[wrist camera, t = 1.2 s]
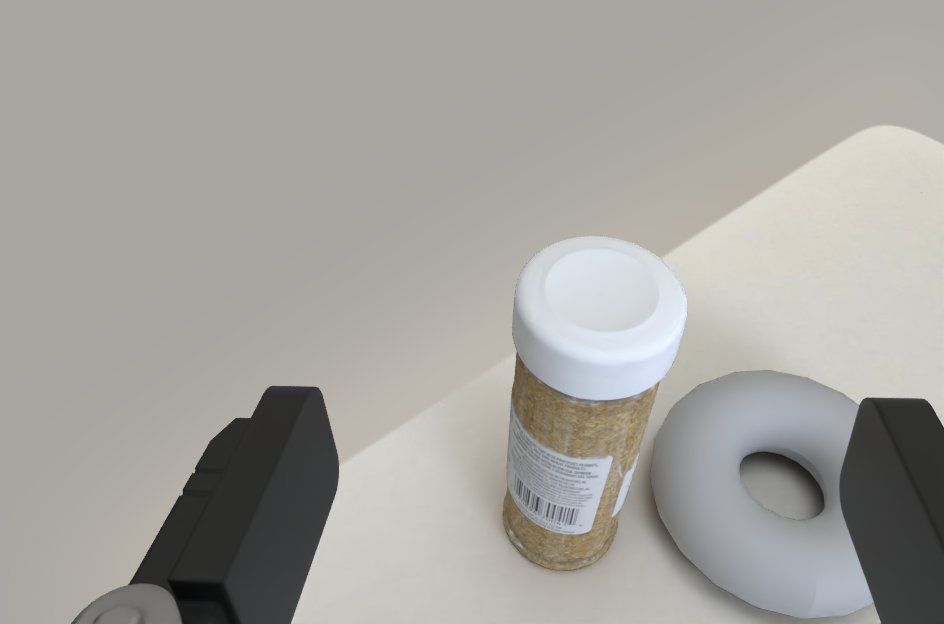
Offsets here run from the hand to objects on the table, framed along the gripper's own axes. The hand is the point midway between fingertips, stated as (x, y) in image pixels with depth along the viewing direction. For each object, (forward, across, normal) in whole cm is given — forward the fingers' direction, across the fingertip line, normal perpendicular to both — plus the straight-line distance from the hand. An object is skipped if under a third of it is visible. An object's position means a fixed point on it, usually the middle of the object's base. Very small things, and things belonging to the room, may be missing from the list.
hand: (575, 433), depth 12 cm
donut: (+13, -8, +16) cm, 22 cm away
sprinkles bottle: (+12, +1, +16) cm, 20 cm away
